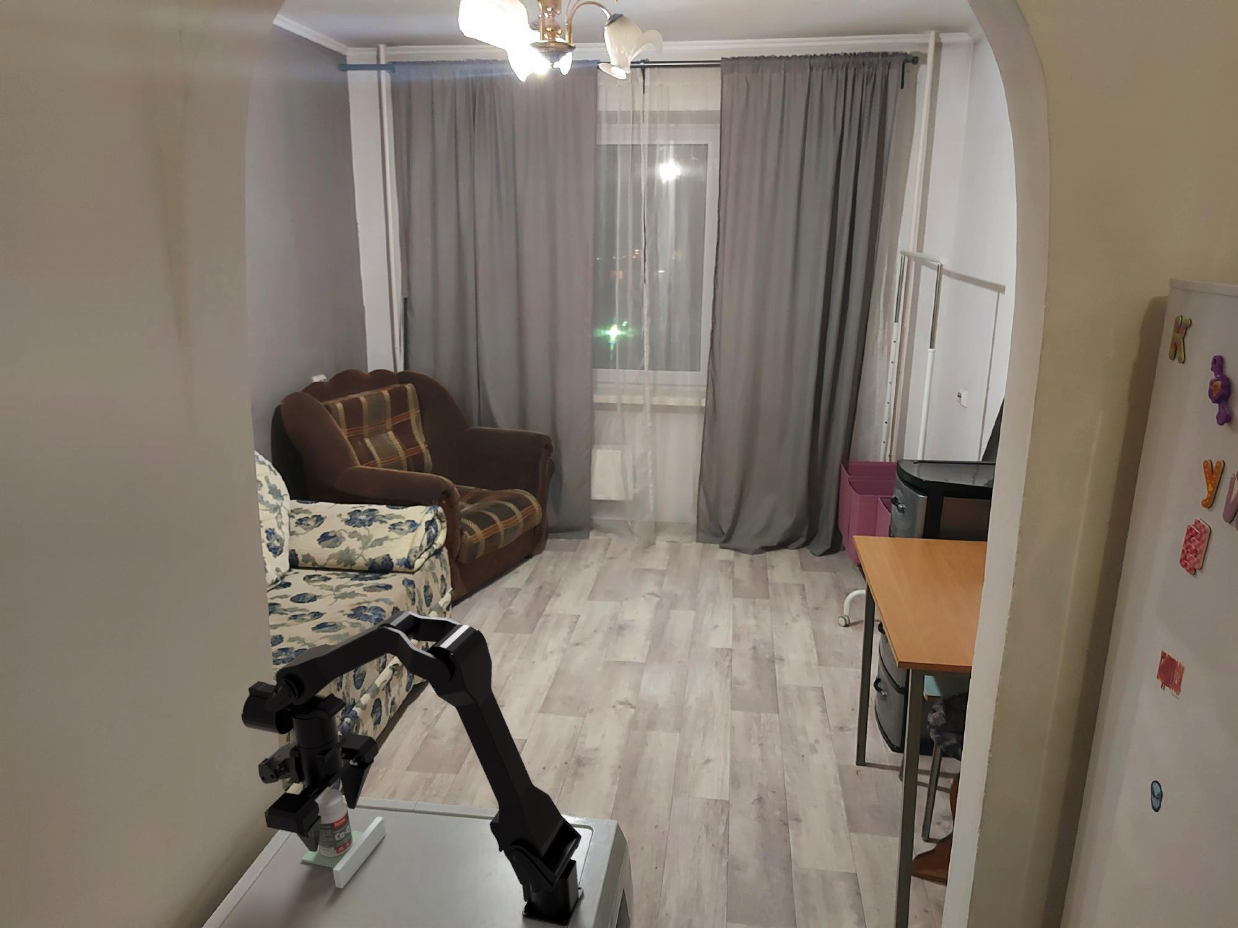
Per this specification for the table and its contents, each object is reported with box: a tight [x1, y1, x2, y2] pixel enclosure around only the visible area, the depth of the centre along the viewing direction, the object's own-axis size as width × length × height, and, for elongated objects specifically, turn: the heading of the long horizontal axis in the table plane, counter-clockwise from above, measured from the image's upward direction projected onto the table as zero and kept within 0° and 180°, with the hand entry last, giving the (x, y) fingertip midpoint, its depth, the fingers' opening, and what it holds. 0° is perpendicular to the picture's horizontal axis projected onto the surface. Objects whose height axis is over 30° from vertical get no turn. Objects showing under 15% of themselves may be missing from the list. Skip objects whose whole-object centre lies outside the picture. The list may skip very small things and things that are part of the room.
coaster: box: [300, 829, 364, 869], centre depth 126 cm, size 7×7×1 cm
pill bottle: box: [316, 788, 353, 857], centre depth 124 cm, size 5×5×8 cm
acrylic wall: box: [332, 816, 387, 889], centre depth 123 cm, size 1×11×3 cm, turn 162°
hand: (333, 828), depth 125 cm, fingers open, 9 cm apart
